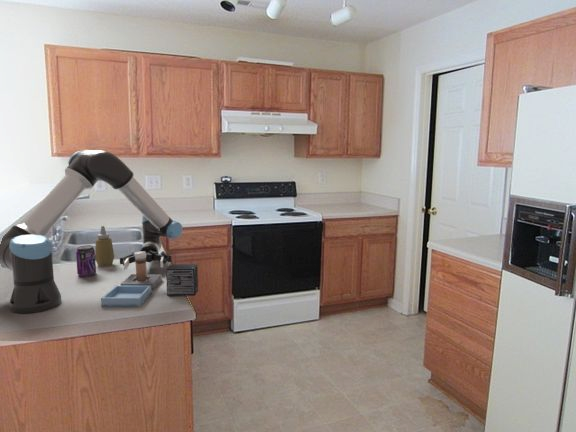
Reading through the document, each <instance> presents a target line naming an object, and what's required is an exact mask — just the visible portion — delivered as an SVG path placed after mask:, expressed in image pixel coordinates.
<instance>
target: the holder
mask: <svg viewBox="0 0 576 432" xmlns="http://www.w3.org/2000/svg"><path fill="white" fill-rule="evenodd" d="M160 282H162V274H160V273H159V274H155V273H153V274H148V273H147V281H136V273H135V274H133V273H132V274H130V275H128V276H127V277H126V278H125V279H124V280H123V281H122V282H121V283H120V284H119V286H151V291H153V290H155V288H157V286H158V285H159V283H160Z"/></svg>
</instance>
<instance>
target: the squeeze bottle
mask: <svg viewBox="0 0 576 432" xmlns="http://www.w3.org/2000/svg"><path fill="white" fill-rule="evenodd" d="M100 227H101V228H100V233H99V234H97V239H96V240H95V249H94V250H95V262H96V264H97V266H98V267H101V268H105V267H109V266H112V265H113V263H114V260H115V252H114V248H113V247H114V246H113V240H112V239H111V238H110V234H109V233H107V231H106V228H105V225H101V226H100Z"/></svg>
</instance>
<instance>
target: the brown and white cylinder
mask: <svg viewBox="0 0 576 432" xmlns="http://www.w3.org/2000/svg"><path fill="white" fill-rule="evenodd" d="M134 253H135V262H134V263H135V274H136V281H147V274H148V273H147V262H146V252H144V251H136V252H134Z"/></svg>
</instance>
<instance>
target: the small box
mask: <svg viewBox="0 0 576 432" xmlns="http://www.w3.org/2000/svg"><path fill="white" fill-rule="evenodd" d="M165 272H166V273H165V274H166V296H167V297H185V296H186V297H188V296H189V297H195V296H196V295H197V294H198V291H199V276H198V264H197V263H190V264H189V263H187V264H186V263H185V264H184V263H183V264H181V263H179V264H177V263H176V264H175V263H173V264H171V263H170V264H168V265H167V267H166V268H165Z"/></svg>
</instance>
